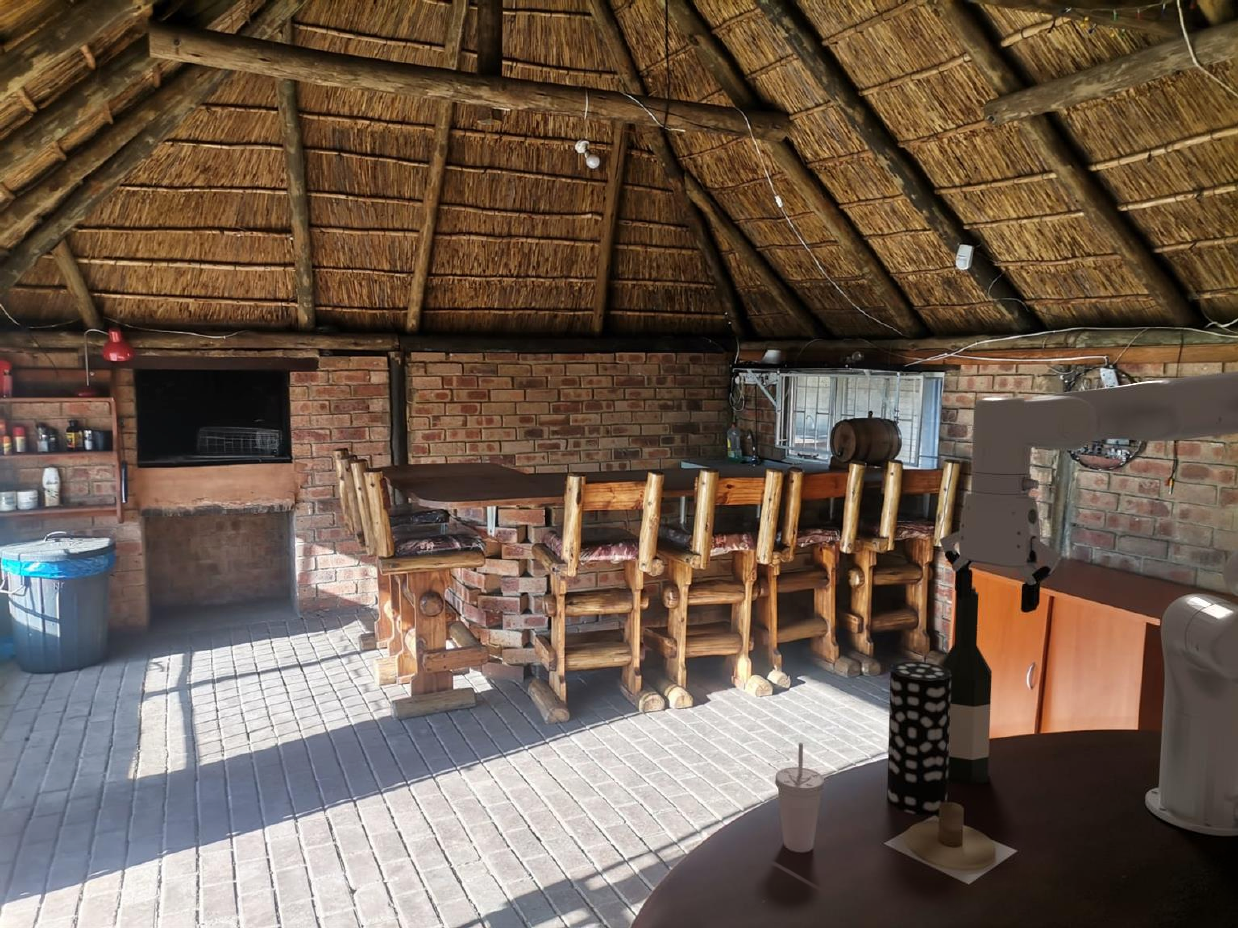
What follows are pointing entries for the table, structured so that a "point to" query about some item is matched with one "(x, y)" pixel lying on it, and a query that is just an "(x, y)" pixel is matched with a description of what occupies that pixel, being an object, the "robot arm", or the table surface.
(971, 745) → the wine bottle
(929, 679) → the spotted tube
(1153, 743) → the table surface
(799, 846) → the smoothie
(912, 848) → the lid
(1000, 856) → the mat
